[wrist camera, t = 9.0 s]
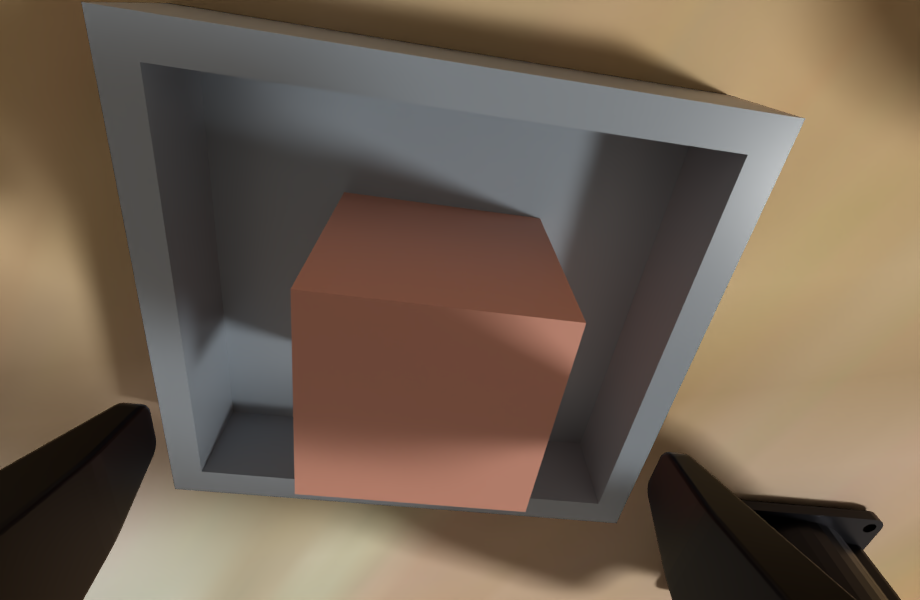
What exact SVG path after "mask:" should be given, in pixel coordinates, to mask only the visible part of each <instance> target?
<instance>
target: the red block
mask: <svg viewBox="0 0 920 600" xmlns="http://www.w3.org/2000/svg"><path fill="white" fill-rule="evenodd" d="M585 326H586V321H585V319H584V317H583V314H582V312H581V310H580V308H579V305H578V303H577V301H576V299H575V296H574V294H573V292H572V290H571V287H570V285H569V283H568V281H567V278H566V276H565V274H564V272H563V269H562V267H561V265H560V263H559V260H558V258H557V256H556V253H555V251H554V249H553V247H552V244H551V242H550V240H549V238H548V235H547V233H546V231H545V229H544V226H543V224H542V222H541V220H540V218H534V217H526V216H519V215H511V214H504V213H496V212H489V211H481V210H474V209H466V208H459V207H451V206H444V205H436V204H429V203H421V202H414V201H406V200H399V199H391V198H384V197H376V196H369V195H361V194H354V193H346V192H344V193H343V195H342V197H341V199H340V200H339V202H338V204H337V206H336V208H335V209H334V211H333V213H332V215H331V217H330V219H329V220H328V222H327V224H326V226H325V228H324V229H323V231H322V233H321V235H320V237H319V238H318V240H317V242H316V244H315V246H314V247H313V249H312V251H311V253H310V255H309V257H308V258H307V260H306V262H305V264H304V266H303V267H302V269H301V271H300V273H299V275H298V276H297V278H296V280H295V282H294V284H293V286H292V287H291V335H292V382H293V430H294V477H295V494H300V495H313V496H326V497H339V498H352V499H365V500H377V501H390V502H403V503H416V504H429V505H441V506H454V507H467V508H480V509H493V510H506V511H518V512H526V509H527V506H528V502H529V499H530V496H531V493H532V490H533V487H534V484H535V481H536V478H537V475H538V471H539V468H540V465H541V462H542V459H543V456H544V453H545V450H546V447H547V444H548V440H549V437H550V434H551V431H552V428H553V425H554V422H555V419H556V416H557V412H558V409H559V406H560V403H561V400H562V397H563V394H564V391H565V388H566V385H567V381H568V378H569V375H570V372H571V369H572V366H573V363H574V360H575V357H576V353H577V350H578V347H579V344H580V341H581V338H582V335H583V332H584V329H585Z"/></svg>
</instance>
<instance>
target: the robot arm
mask: <svg viewBox="0 0 920 600" xmlns="http://www.w3.org/2000/svg"><path fill="white" fill-rule="evenodd" d="M155 447H156V437H155V432H154V428H153V423H152V418H151V413H150V410H149V408H148V407H147V406H146V405H143V404H132V403H119V404H117V405H115V406H113V407H111V408H109V409H107V410H106V411H104V412H102V413H100V414H98V415H97V416H95V417H93V418H91V419H90V420H88V421H86V422H84V423H83V424H81V425H79V426H77V427H75V428H74V429H72V430H70V431H68V432H67V433H65V434H63V435H61V436H59V437H58V438H56V439H54V440H52V441H51V442H49V443H47V444H45V445H43V446H42V447H40V448H38V449H36V450H35V451H33V452H31V453H29V454H27V455H26V456H24V457H22V458H20V459H19V460H17V461H15V462H13V463H12V464H10V465H8V466H6V467H4V468H3V469H1V470H0V600H83V599H84V597H85V595H86V594H87V592H88V590H89V588H90V587H91V585H92V583H93V581H94V579H95V578H96V576H97V574H98V572H99V571H100V569H101V567H102V565H103V564H104V562H105V560H106V558H107V556H108V555H109V553H110V551H111V549H112V547H113V545H114V543H115V541H116V539H117V537H118V535H119V533H120V531H121V529H122V526H123V524H124V522H125V519H126V517H127V515H128V512H129V510H130V508H131V506H132V503H133V501H134V499H135V496H136V494H137V492H138V489H139V487H140V485H141V483H142V480H143V478H144V476H145V473H146V471H147V469H148V466H149V464H150V462H151V459H152V457H153V455H154V452H155ZM648 498H649V503H650V507H651V512H652V517H653V522H654V526H655V531H656V536H657V541H658V545H659V550H660V555H661V560H662V564H663V569H664V573H665V577H666V581H667V584H668V587H669V591H670V594H671V597H672V600H901V599H900V598H899V596H898V595H897V594H896V592H895V591H894V590H893V589H892V587H891V586H890V585H889V583H888V582H887V581H886V579H885V578H884V577H883V575H882V574H881V573H880V572H879V570H878V569H877V568H876V566H875V565H874V564H873V562H872V561H871V560H870V559H869V557H868V556H867V555H866V553H865V552H864V551H863V549H864V548H865V547H866V546H867V545H868V544H869V543H870V541H871V540H872V539H873V538H874V537H875V536H876V535H877V533H878V532H879V531H880V530H881V529H882V527H883V523H882V522H881V520H880V519H879V518H878V517H877V516H876V515H875V514H874V513H873V512H870V511H861V510H849V509H837V508H825V507H814V506H802V505H790V504H778V503H766V502H754V501H742V500H740V499H739V498H738V497H737V496H736V495H734V494H733V493H732V492H731V491H730V490H729V489H728V488H726V487H725V486H724V485H723V484H722V483H721V482H719V481H718V480H717V479H716V478H715V477H714V476H713V475H711V474H710V473H709V472H708V471H707V470H706V469H704V468H703V467H702V466H701V465H700V464H699V463H697V462H696V461H695V460H694V459H693V458H692V457H690V456H689V455H687V454H684V453H673V452H666V453H664V454H663V455H662V456H661V457H660V459H659V461H658V464H657V466H656V468H655V470H654V472H653V474H652V476H651V478H650V480H649V483H648Z"/></svg>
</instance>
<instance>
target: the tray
mask: <svg viewBox="0 0 920 600" xmlns="http://www.w3.org/2000/svg"><path fill="white" fill-rule="evenodd" d="M81 3H82V8H83V13H84V18H85V23H86V29H87V34H88V39H89V44H90V49H91V55H92V60H93V65H94V70H95V75H96V80H97V86H98V91H99V96H100V101H101V106H102V112H103V117H104V122H105V127H106V132H107V138H108V143H109V148H110V153H111V158H112V164H113V169H114V174H115V179H116V184H117V190H118V195H119V200H120V205H121V210H122V216H123V221H124V226H125V231H126V236H127V241H128V247H129V252H130V257H131V262H132V267H133V273H134V278H135V283H136V288H137V293H138V299H139V304H140V309H141V314H142V319H143V325H144V330H145V335H146V340H147V345H148V351H149V356H150V361H151V366H152V371H153V377H154V382H155V387H156V392H157V397H158V402H159V408H160V413H161V418H162V423H163V428H164V434H165V439H166V444H167V449H168V454H169V460H170V465H171V470H172V475H173V480H174V486H175V489H184V490H196V491H209V492H222V493H235V494H248V495H261V496H274V497H286V498H299V499H312V500H325V501H338V502H351V503H364V504H377V505H389V506H402V507H415V508H428V509H441V510H454V511H467V512H479V513H492V514H505V515H518V516H531V517H544V518H557V519H570V520H582V521H595V522H608V523H617V521H618V519H619V517H620V514H621V512H622V510H623V508H624V506H625V504H626V502H627V499H628V497H629V495H630V493H631V491H632V489H633V487H634V484H635V482H636V480H637V478H638V476H639V474H640V472H641V469H642V467H643V465H644V463H645V461H646V459H647V457H648V454H649V452H650V450H651V448H652V446H653V444H654V442H655V439H656V437H657V435H658V433H659V431H660V429H661V427H662V424H663V422H664V420H665V418H666V416H667V414H668V412H669V409H670V407H671V405H672V403H673V401H674V399H675V397H676V394H677V392H678V390H679V388H680V386H681V384H682V382H683V379H684V377H685V375H686V373H687V371H688V369H689V367H690V364H691V362H692V360H693V358H694V356H695V354H696V352H697V349H698V347H699V345H700V343H701V341H702V339H703V337H704V334H705V332H706V330H707V328H708V326H709V324H710V322H711V319H712V317H713V315H714V313H715V311H716V309H717V307H718V304H719V302H720V300H721V298H722V296H723V294H724V292H725V289H726V287H727V285H728V283H729V281H730V279H731V277H732V274H733V272H734V270H735V268H736V266H737V264H738V262H739V259H740V257H741V255H742V253H743V251H744V249H745V247H746V244H747V242H748V240H749V238H750V236H751V234H752V232H753V229H754V227H755V225H756V223H757V221H758V219H759V217H760V214H761V212H762V210H763V208H764V206H765V204H766V202H767V199H768V197H769V195H770V193H771V191H772V189H773V187H774V184H775V182H776V180H777V178H778V176H779V174H780V172H781V169H782V167H783V165H784V163H785V161H786V159H787V157H788V154H789V152H790V150H791V148H792V146H793V144H794V142H795V139H796V137H797V135H798V133H799V131H800V129H801V127H802V124H803V122H804V120H805V118H801V117H798V116H795V115H792V114H788V113H785V112H782V111H779V110H776V109H772V108H769V107H766V106H763V105H760V104H756V103H753V102H750V101H747V100H744V99H740V98H737V97H734V96H731V95H726V94H720V93H714V92H708V91H702V90H696V89H689V88H683V87H677V86H671V85H665V84H659V83H653V82H647V81H641V80H634V79H628V78H622V77H616V76H610V75H604V74H598V73H592V72H586V71H579V70H573V69H567V68H561V67H555V66H549V65H543V64H537V63H531V62H525V61H518V60H512V59H506V58H500V57H494V56H488V55H482V54H476V53H470V52H463V51H457V50H451V49H445V48H439V47H433V46H427V45H421V44H415V43H408V42H402V41H396V40H390V39H384V38H378V37H372V36H366V35H360V34H353V33H347V32H341V31H335V30H329V29H323V28H317V27H311V26H305V25H298V24H292V23H286V22H280V21H274V20H268V19H262V18H256V17H250V16H243V15H237V14H231V13H225V12H219V11H213V10H207V9H201V8H195V7H189V6H182V5H176V4H170V3H128V2H81ZM344 192H346V193H354V194H361V195H369V196H376V197H384V198H391V199H399V200H406V201H414V202H421V203H429V204H436V205H444V206H451V207H459V208H466V209H474V210H481V211H489V212H496V213H504V214H511V215H519V216H526V217H534V218H540V220H541V222H542V224H543V226H544V229H545V231H546V233H547V235H548V238H549V240H550V242H551V244H552V247H553V249H554V251H555V253H556V256H557V258H558V260H559V263H560V265H561V267H562V269H563V272H564V274H565V276H566V278H567V281H568V283H569V285H570V287H571V290H572V292H573V294H574V296H575V299H576V301H577V303H578V305H579V308H580V310H581V312H582V314H583V317H584V319H585V321H586V326H585V329H584V332H583V335H582V338H581V341H580V344H579V347H578V350H577V353H576V357H575V360H574V363H573V366H572V369H571V372H570V375H569V378H568V381H567V385H566V388H565V391H564V394H563V397H562V400H561V403H560V406H559V409H558V412H557V416H556V419H555V422H554V425H553V428H552V431H551V434H550V437H549V440H548V444H547V447H546V450H545V453H544V456H543V459H542V462H541V465H540V468H539V471H538V475H537V478H536V481H535V484H534V487H533V490H532V493H531V496H530V499H529V502H528V506H527V509H526V512H518V511H506V510H493V509H480V508H467V507H454V506H441V505H429V504H416V503H403V502H390V501H377V500H365V499H352V498H339V497H326V496H313V495H300V494H295V477H294V430H293V382H292V335H291V287H292V286H293V284H294V282H295V280H296V278H297V276H298V275H299V273H300V271H301V269H302V267H303V266H304V264H305V262H306V260H307V258H308V257H309V255H310V253H311V251H312V249H313V247H314V246H315V244H316V242H317V240H318V238H319V237H320V235H321V233H322V231H323V229H324V228H325V226H326V224H327V222H328V220H329V219H330V217H331V215H332V213H333V211H334V209H335V208H336V206H337V204H338V202H339V200H340V199H341V197H342V195H343V193H344Z"/></svg>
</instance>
